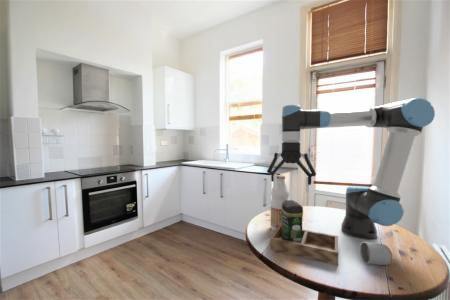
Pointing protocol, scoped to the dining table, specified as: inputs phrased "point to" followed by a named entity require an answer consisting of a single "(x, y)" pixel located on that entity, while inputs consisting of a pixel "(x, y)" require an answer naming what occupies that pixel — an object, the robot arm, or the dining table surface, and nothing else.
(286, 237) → the coffee jar
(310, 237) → the wooden divided tray
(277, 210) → the fruit juice
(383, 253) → the ceramic mug
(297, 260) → the dining table surface
